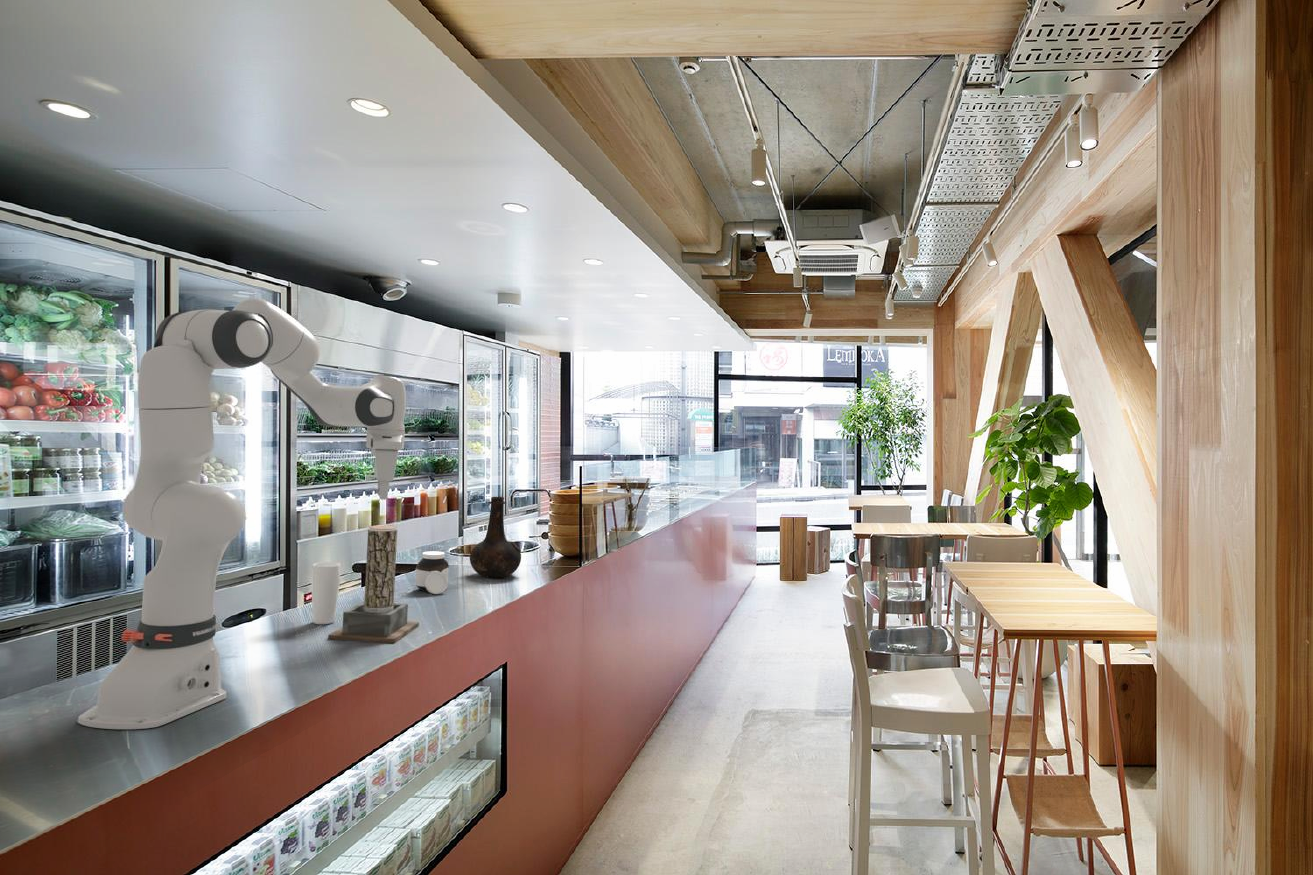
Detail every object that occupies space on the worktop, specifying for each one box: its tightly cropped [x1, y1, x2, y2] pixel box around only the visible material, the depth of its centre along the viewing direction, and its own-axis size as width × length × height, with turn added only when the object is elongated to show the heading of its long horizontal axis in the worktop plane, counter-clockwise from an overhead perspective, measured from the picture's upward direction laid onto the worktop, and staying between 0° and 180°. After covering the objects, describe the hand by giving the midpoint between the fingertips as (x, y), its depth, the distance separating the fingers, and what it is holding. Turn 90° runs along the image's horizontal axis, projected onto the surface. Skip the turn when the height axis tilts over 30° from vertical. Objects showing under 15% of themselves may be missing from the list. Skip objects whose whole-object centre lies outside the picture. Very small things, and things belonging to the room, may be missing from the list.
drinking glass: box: [310, 561, 342, 626], centre depth 187 cm, size 7×7×15 cm
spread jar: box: [414, 550, 450, 595], centre depth 229 cm, size 12×11×12 cm
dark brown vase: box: [469, 496, 522, 579], centre depth 258 cm, size 18×18×28 cm
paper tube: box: [363, 525, 398, 613], centre depth 181 cm, size 7×7×25 cm
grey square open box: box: [327, 601, 420, 644], centre depth 180 cm, size 16×16×6 cm
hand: (382, 497), depth 180 cm, fingers open, 8 cm apart
